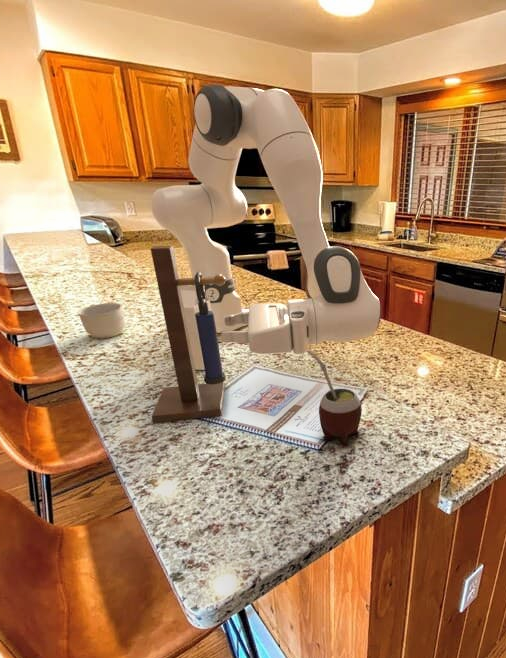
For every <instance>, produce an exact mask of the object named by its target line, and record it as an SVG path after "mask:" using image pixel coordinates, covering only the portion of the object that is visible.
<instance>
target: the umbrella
mask: <svg viewBox="0 0 506 658" xmlns="http://www.w3.org/2000/svg"><path fill="white" fill-rule="evenodd" d="M200 278H202V275H201V272H197V273H196V275H195V286H196V294H197V298H198V307H199V312H197V313H195V317H196V323H197V329H198V334H199V340H200V346H201V351H202V357H203V363H204V369H205V370H204V373H205V375H204V376H203V381H204V384H219V383H222V382H224V383H225V381H226V380H227V377H226V373H225V372H224V371H223V365H222V358H221V351H220V347H219V339H218V333H217V332H216V325H215V319H214V313H213V311H209V310H208V304H207V302H206V300H205V289H204V284H203V285H200Z"/></svg>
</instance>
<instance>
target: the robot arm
mask: <svg viewBox="0 0 506 658" xmlns="http://www.w3.org/2000/svg"><path fill="white" fill-rule="evenodd" d="M193 117H194V122H195V125H194V129H193V133H192V139H191V144H190V149H189V153H188V159H187V162H188V167H189V170H190V172H191V173H192V175H193V176H194V177H195V178H196V179H197V181H199V182H200V184H183V185H181V184H180V185H179V184H178V185H176V184H175V185H169V186H166V187H162V188H158V189H156V190H155V191H154V193H153V195H152V197H151V201H150V210H151V213H152V216H153V218H154V219H155V221H156V222H157V224H158V225H159V226H161V228H163V229H165V230H166V231H168V232H169V233H170V234H172V235H173V236H174V237H175V239H177V240H178V242H179V243H180V245H181V246H182V248H183V250H184V252H185V255H186V257H187V262H188V265H189V271H190V276H191V278H195V275H196V273H197V272H201V275H202V278H203V277H215V276H216V275H218V274H220V275H223V276H224V277H225V283H224V285H222V286H218V285H216V284H204V289H205V296H206V297H208V298H209V299H210V304H211V311H213V313H214V319H215V325H216V332H217V334H220V333H221V334H220V335H221V341H222V342H223V343H237V344H241V345H242V344H243V345H246V344H248V348H249V351H250V352H251V353H253V354H259V355H260V354H261V355H263V354H285V353H289V352H292V353H293V354H296V355H297V354H298V355H299V354H305V353H306V352H307V351H308V348H309V347H310V346H311V345H319V344H322V343H325V342H334V343H345V342H353V341H359V340H365V339H367V338H371V337H372V336H373V335H374V334H375V333H376V332H377V331H378V329H379V326H380V323H381V319H382V318H381V317H382V306H381V301H380V299H379V298H378V297H377V296H376V295H375V294H374V293H373V291H372V290H371V288H370V287H369V285H368V283H367V281H366V279H365V277H364V274H363V272H362V269H361V264H360V261H359V259H358V257H357V256H356V255H355V254H354V253H353V251H351V250H349V249H348V248H346V247H343V246H340V245H339V246H338V245H332V246H331V245H330V244H329V242H328V241H329V240H328V238H327V235H326V232H325V230H324V227H323V223H322V215H321V197H322V189H323V169H322V163H321V158H320V153H319V150H318V147H317V144H316V141H315V139H314V136H313V134H312V131H311V129H310V127H309V125H308V122H307V121H306V118H305V116H304V115H303V112H302V111H301V109H300V107H299V106H298V104H297V102H296V101H295V99H294V97H292V96H291V95H290V93H288V92H287V91H285V90H283V89H279V88H269V89H265V90H263V89H260V88H255V87H250V86H246V87H245V86H244V87H243V86H235V85H233V86H229V85H226V86H224V85H222V84H219V83H216V84H214V83H213V84H207V85H203V86H201V87H200V88H199V89H198V92H197V93H196V95H195V97H194V101H193ZM243 149H246V150H252V149H257V152H258V154H259V158H260V160H261V163H262V165H263V168H264V170H265V173H266V175H267V177H268V180H269V181H270V184H271V185H272V188H273V189H274V192H275V193H276V196H277V198H278V200H279V202H280V204H281V206H282V208H283V210H284V212H285V214H286V216H287V219H288V221H289V223H290V226H291V228H292V231H293V234H294V236H295V241H296V243H297V246H298V248H299V252H300V254H301V257H302V260H303V264H304V266H305V267H304V268H305V273H306V274H305V275H306V276H305V277H306V278H305V279H306V280H305V294H306V297H307V298H297V299H287V301H286V304H284V303H282V302H281V303H280V302H259V303H251V304H249V305H248V308H247V309H245V308H244V307H243V303H242V297H240V295H239V294H237V293H236V283H235V279H234V277H233V275H232V267H231V266H232V265H231V259H230V253H229V251H228V249H226V248H225V246H224V245H223V244H220V243H218V242H216V241H214V240H212V239H211V238H210V236H209V232H208V229H218V228H220V229H221V228H228V227H231V226H232V227H233V226H234V225H238V224H241V223H242V222H244V220H245V219H246V218H247V217H246V216H247V213H248V202H247V200H246V196H245V195H244V193H243V192H242V191H241V189H240V188H238V187H237V186H236V175H237V170H238V166H239V163H240V158H241V155H242V151H243ZM193 286H195V285H193ZM245 326H247V329H241V328H242V327H245ZM238 329H241V330H238Z"/></svg>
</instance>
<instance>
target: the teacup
mask: <svg viewBox="0 0 506 658" xmlns="http://www.w3.org/2000/svg"><path fill="white" fill-rule="evenodd" d="M77 315H78V316H79V318H80V322H81V325H82V326H83V328H84V331H85V332H86V334H87V335H89V336H92V337H94V338H97V339H108V338H112V337H115V336H118V335H120V334H121V333H122V332H123V330H124V329H125V327H126V323H127V322H126V318H125V314H124V310H123V305H122V303H117V302H105V303H98V304H95V303H93V304H90V305H89V306H87V307H84V308H81V309H80V310H79V311H78V312H77Z"/></svg>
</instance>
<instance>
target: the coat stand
mask: <svg viewBox="0 0 506 658" xmlns="http://www.w3.org/2000/svg"><path fill="white" fill-rule="evenodd" d="M150 252H151V253H150V254H151V258H152V263H153V269H154V272H155V278H156V282H157V288H158V293H159V298H160V303H161V308H162V313H163V318H164V322H165V323H164V324H165V327H166V333H167V338H168V342H169V346H170V351H171V356H172V361H173V367H174V371H175V377H176V382H177V386H176V385H175V386H167V387H163V388H162V391H161V393H160V396H159V397H158V400H157V402H156V405H155V407H154V410H153V412H152V415H151V419H152V420H151V421H152V423H153V424H159V423H169V422H178V421H187V420H195V419H196V420H197V419H203V418H205V419H206V418H213V417H221V416H222V415H223V407H224V401H225V394H226V393H225V392H226V384H225V381H224V382H222V383H219V384H206V383H198V378H197V371H196V370H195V366H194V360H193V355H192V349H191V344H190V338H189V333H188V327H187V322H186V316H185V311H184V305H183V300H182V294H181V289H180V286H184V285H195V278H192V277H187V278H180V277H179V273H178V267H177V261H176V256H175V252H174V246H173V245H154V246H152V247H151V248H150ZM224 283H225V277H224V276H223V275H220V274H218V275H216V276H215V277H203V278H200V285H203V284H216V285H218V286H222V285H224Z"/></svg>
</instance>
